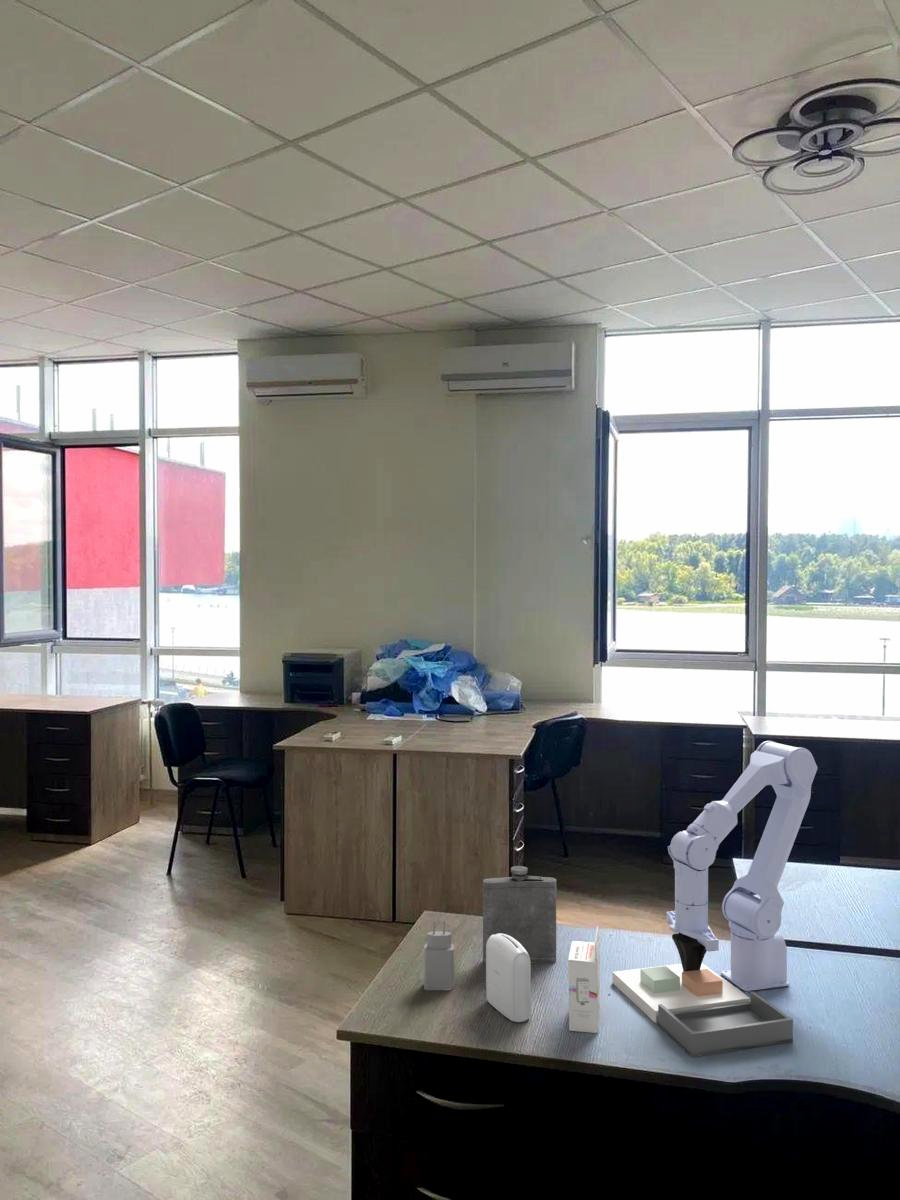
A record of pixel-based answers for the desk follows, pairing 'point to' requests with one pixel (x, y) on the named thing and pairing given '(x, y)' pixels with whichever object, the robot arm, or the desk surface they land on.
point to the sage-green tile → (660, 979)
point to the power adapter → (438, 960)
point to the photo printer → (508, 977)
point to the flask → (522, 912)
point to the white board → (673, 993)
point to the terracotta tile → (702, 982)
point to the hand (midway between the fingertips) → (691, 976)
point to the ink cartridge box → (584, 985)
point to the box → (727, 1027)
